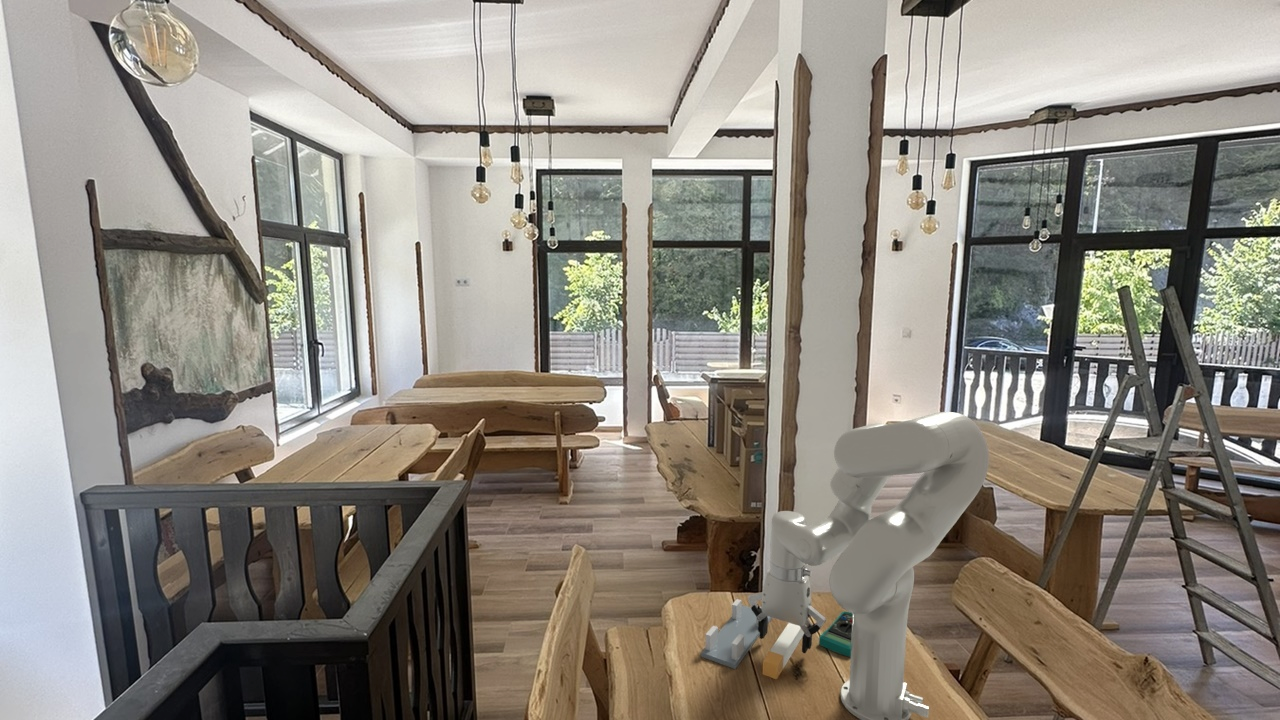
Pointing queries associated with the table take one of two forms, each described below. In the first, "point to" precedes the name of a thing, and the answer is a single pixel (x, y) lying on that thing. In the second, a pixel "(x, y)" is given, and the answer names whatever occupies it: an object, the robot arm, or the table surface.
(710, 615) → the table surface
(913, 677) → the table surface
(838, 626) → the digital multimeter
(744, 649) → the grey peg holder base
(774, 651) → the bar
